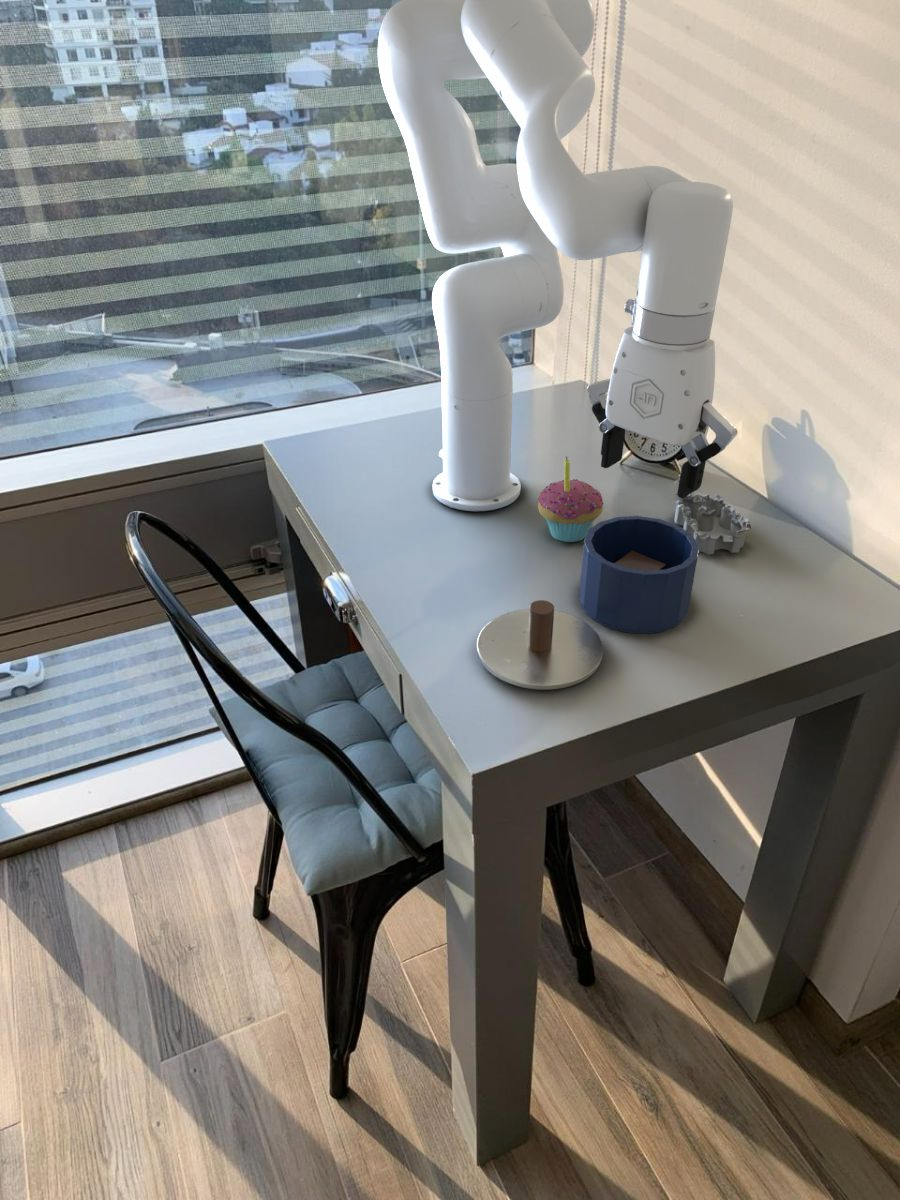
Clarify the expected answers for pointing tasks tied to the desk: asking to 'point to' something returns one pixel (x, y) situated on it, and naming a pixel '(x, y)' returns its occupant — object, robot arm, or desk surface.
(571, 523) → the cupcake
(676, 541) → the blue bowl
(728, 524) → the egg carton
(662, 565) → the block
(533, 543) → the desk surface
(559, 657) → the lid
